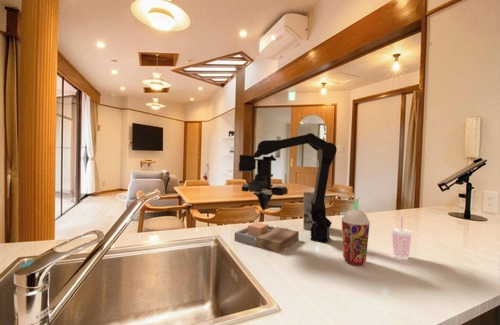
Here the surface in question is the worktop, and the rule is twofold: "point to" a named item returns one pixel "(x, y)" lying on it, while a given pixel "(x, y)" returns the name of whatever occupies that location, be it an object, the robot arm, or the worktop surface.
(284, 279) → the worktop surface
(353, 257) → the smoothie
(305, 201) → the coffee box
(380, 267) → the worktop surface
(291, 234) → the board
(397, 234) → the beverage cup
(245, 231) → the box
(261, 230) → the salmon pink block
